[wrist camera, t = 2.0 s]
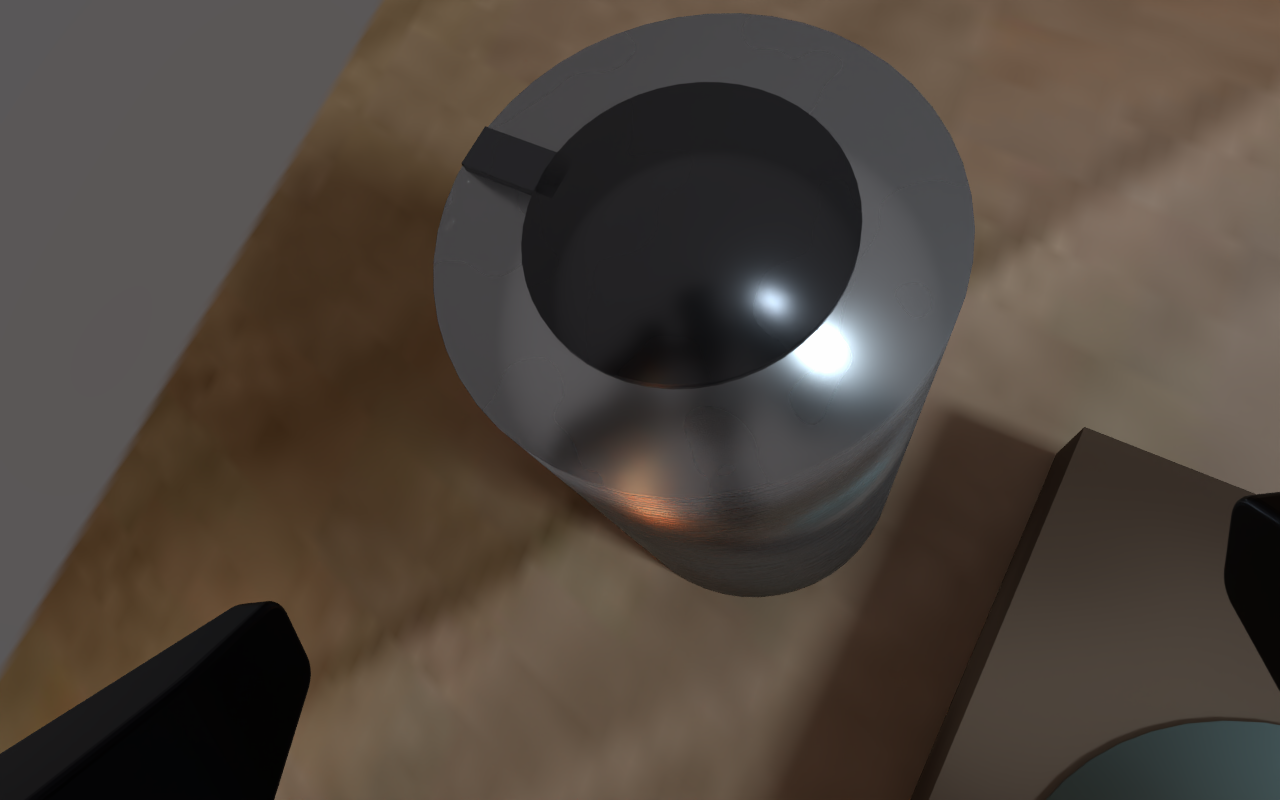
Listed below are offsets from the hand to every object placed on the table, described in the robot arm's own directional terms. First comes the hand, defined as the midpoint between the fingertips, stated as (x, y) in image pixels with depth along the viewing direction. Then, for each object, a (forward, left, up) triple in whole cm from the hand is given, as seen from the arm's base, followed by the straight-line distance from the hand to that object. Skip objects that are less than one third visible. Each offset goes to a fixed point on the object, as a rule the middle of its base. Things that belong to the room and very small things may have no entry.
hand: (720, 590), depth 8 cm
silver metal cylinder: (+4, +2, -11) cm, 12 cm away
